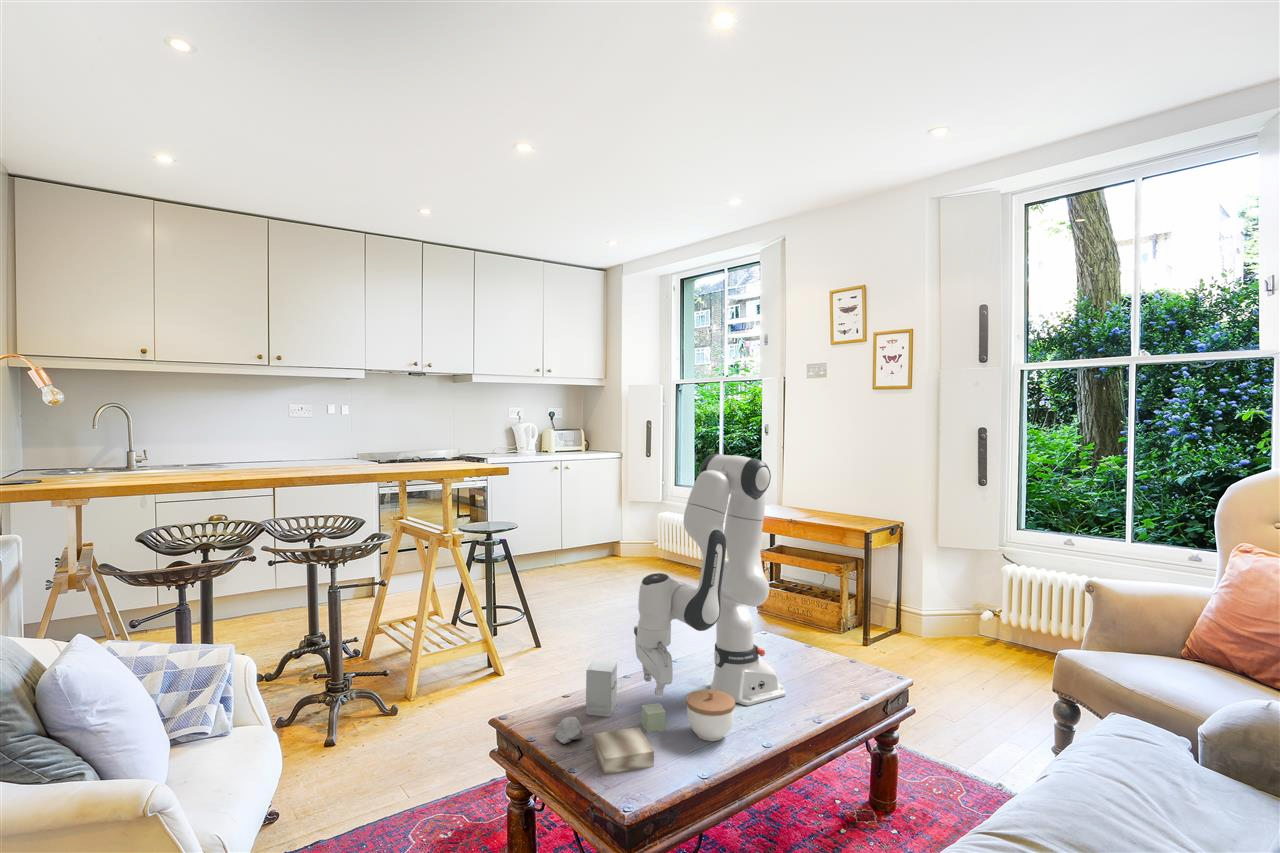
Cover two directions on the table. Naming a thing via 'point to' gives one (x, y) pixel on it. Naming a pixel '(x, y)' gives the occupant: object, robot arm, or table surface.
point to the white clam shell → (569, 730)
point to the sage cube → (653, 717)
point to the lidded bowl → (710, 713)
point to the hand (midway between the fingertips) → (653, 687)
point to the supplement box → (601, 688)
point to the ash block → (623, 750)
